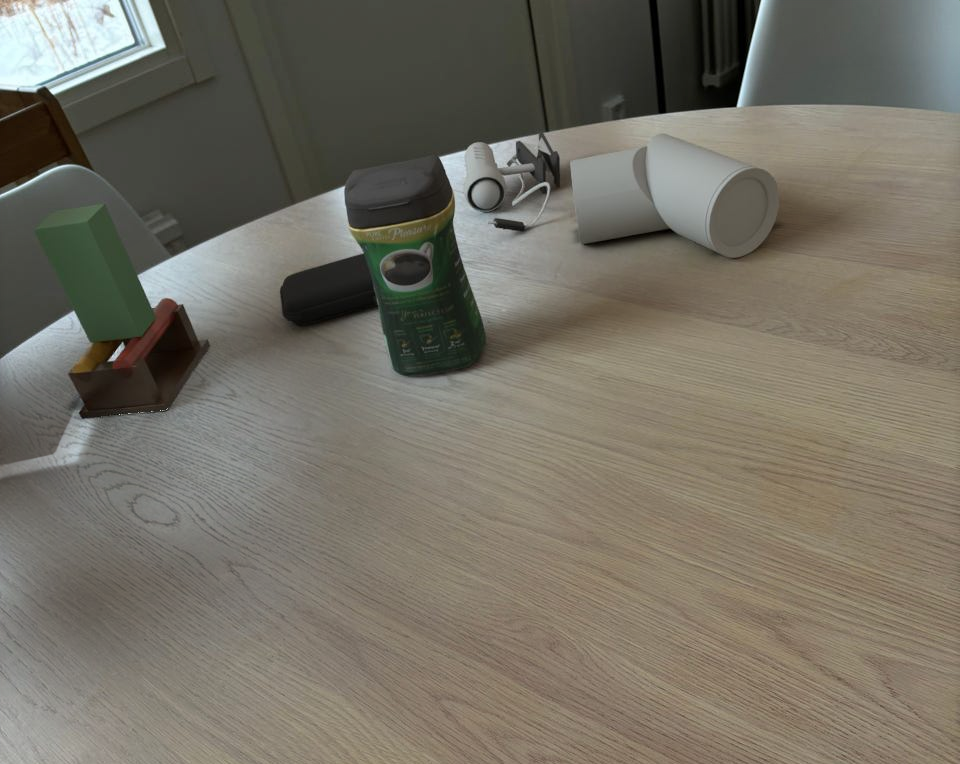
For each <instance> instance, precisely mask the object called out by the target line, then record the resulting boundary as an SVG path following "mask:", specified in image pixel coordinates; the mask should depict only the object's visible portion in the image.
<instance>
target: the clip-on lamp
mask: <svg viewBox="0 0 960 764" xmlns="http://www.w3.org/2000/svg"><path fill="white" fill-rule="evenodd" d="M560 159H561V158H560V154H559V153H558V150H555V151H554V150H553V147H552V146H551V144H550V143H549V141H548V138H547V136H546V135H545V133H544V132H543V131H542V132H538V143H537V144H531V143H527V142H523V141H521V140H516V141H515V154H514V155H513V156H512V157H511V158H510V159H509V160H508V161H507V162H506V165H507V166H503V167H498V164H497V162H496V160H495V155H494V151H493V149H492V148H491V146H490V145H489V144H487V143H485V142H484V141H483V142H481V141H476V142H473V143H472V144H470V145H469V146H468V147H467V149H466V151H465V152H464V164H465V171H466V177H465V179H464V181H463V194H464V198H465V201H466V202H467V203H468V205H469V206H470V207H471V208H472V209H473V210H475V211H477V212H481V213H488V212H492V211H494V210H496V209H498V208H499V207H500V206H501V205H502V204H503V203H504V201H505V198H506V196H507V183H506V179H505V176H513V175H518V177H519V180H520V181H521V185H522V186H521V189H520V191H519V193H518V194H517V196H516V197H515V198H514V199H513V200H512V206H513V207H514V206H516V205H517V204H519V203H521V202H522V201H523V200H524V199H526V198H527V197H528V196H530V195H531V194H532V193H534V192H536V191H538V190H539V191H540V192H541V194H542V195H543V194H546V196H545V200H544V203H543V204H542V206H541V209H540V211H539V212H538V214H537V216H536V217H535V218H534V219H533V220H532V222H531V223H528V224H525V223H524V222H523V221H519V220H513V219H512V220H511V219H506V218H500V217H495V218H493V221H492V220H491V221H487V225H493V226H494V227H495V229H500V230H501V229H502V230H508V231H512V232H515V231H516V232H524V231H525V230H526V229H529V228H530V227H533V226H534V225H535V224H536V223H537V222H538V220H539V219H540V218H541V216H542V214H543V213H544V211H545V209H546V206H547V205H548V203H549V199H550V195H551V188H552V187H551V184H550V183H549V182H547V172H548V173H549V174H551V175H552V177H553V184H554V186H555V187H556V188H561V164H560ZM513 164H515V165H513ZM526 173H529V174H530V175H531V176H532V177H533V178H534V179H535V181H536V182H537V183H538V184H536V185H534V186H533V187H531V188H530V189H528V190H527V191H526V192H524V191H525V181H524V174H526Z"/></svg>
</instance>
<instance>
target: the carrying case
mask: <svg viewBox="0 0 960 764" xmlns="http://www.w3.org/2000/svg"><path fill="white" fill-rule="evenodd" d="M279 296H280V297H279V298H280V305H281V314H282V316H283V318H284V319H285V320H286V321H288V322H289V323H290V322H291V323H292V324H294V325H296V326H306V325H309V324H314V323H317V322H321V321H324V320H328V319H331V318H335V317H338V316H342V315H345V314H349V313H352V312H357V311H360V310H362V309H366V308H370V307H373V306H378V304H377V299H376V294H375V290H374V285H373V281H372V277H371V274H370V270H369V267H368V264H367V261H366V258H365V255H364V253H359V254H355V255H352V256H349V257H345V258H342V259H338V260H334V261H331V262H328V263H325V264H322V265H318V266H313V267H311V268H307V269H304V270H301V271H297V272H295V273H292V274H290V275H288V276H286V277H285V278H284V280H283V282H282V284H281V286H280V288H279Z"/></svg>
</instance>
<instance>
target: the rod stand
mask: <svg viewBox="0 0 960 764" xmlns="http://www.w3.org/2000/svg"><path fill="white" fill-rule="evenodd" d="M152 309H153V312H154V314H155V316H156V318H155V320H154V321H153V322H152V324H151V325H150V326H149V328H148V329H147V330H146V331H145V333H144V334H143V335H142V337H136V338H127V339H118V340H109V341H101V342H92V343H91V344H90V345H89V346H88V348H87V349H86V350H85V351H84V353H82V355H81V356H80V357H79V359H78V360H77V361H76V362H75V364H73V366H72V368H71V369H70V370H69V371H68V372H67V375H68V377H69V379H70V380H71V382H72V385H73V386H74V388H75V390H76V392H77V394H78V396H79V397H80V400H81V401H82V403H83V406H82V407H81V409H80V410H79V411H78V415H79V417H80V418H81V420H83V419H84V420H86V419H85V418H87V419H96V418H95V417H98V418H104V417H103V416H108V417H113V416H112V415H119V414H120V415H119V416H122V415H121V414H128V413H138V412H139V413H140V412H150V413H152V412H151V411H160V410H161V412H163V411H162V410H166V409H167V408H168V407H169V406H170V407H171V405H172V404H173V402H174V401H175V400H176V398H177V396H178V395H179V394H180V392H181V390H182V389H183V388H184V386H185V384H186V383H187V381H188V380H189V379H190V377H191V375H192V374H193V372H194V371H195V370H196V368H197V366H198V365H199V364H200V362H201V361H202V359H203V358H204V356H205V354H206V353H207V352H208V350H209V348H210V347H211V344H210V342H209V339H208V338H207V339H205V338H204V339H199V338H198V336H197V333H196V331H195V329H194V327H193V325H192V322H191V320H190V317H189V315H188V312H187V310H186V308H185V305H184V304H183V303H181V304H180V303H179V304H178V303H177V302H176V300H175V299H172V298H169V297H163V298H162V299H161V300H160V301H159V302H158V304H157V305H156V306H155V307H152ZM122 344H123V345H124V348H123V349H122V351H120V353H119V354H118V355H117V356H116V358H115V360H110V359H111V358H112V356H113V355H114V354H115V353H116V351H117V350H118V349H119V348H120V346H122ZM109 360H110V361H109ZM171 403H172V404H171ZM170 404H171V405H170ZM170 407H169V408H170ZM169 408H168V409H169ZM140 414H141V413H140ZM110 415H111V416H110ZM101 416H102V417H101Z"/></svg>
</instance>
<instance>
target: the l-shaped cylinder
mask: <svg viewBox="0 0 960 764" xmlns="http://www.w3.org/2000/svg"><path fill="white" fill-rule="evenodd" d="M569 163H570V164H569V165H570V174H571V175H570V176H571V185H572V194H573V201H574V202H573V203H574V209H575V217H576V225H577V230H578V236H579V241H580V242H579V243H580V245H585V244H591V243H596V242H603V241H607V240H612V239H613V240H614V239H619V238H620V239H621V238H625V237H630V236H635V235H642V234H646V233H653V232H657V231H658V232H659V231H664V230H670V229H671V231H673V232H674V233H675V234H677V235H679V236H681V237H683V238H686V239H688V240H689V241H692V242H694V243H697V244H698V245H700V246H703V247H705V248H707V249H709V250H711V251H713V252H716V253H717V254H720V255H722V256H724V257H727V258H731V259H734V258H735V259H736V258H741V257H744V256H746V255H749V254H750V253H752V252H753V251H755V250H756V249H757V248H758V247H759V246H761V244H762V243H764V241H765V240H766V238H767V237H768V236H769V234H770V232H771V231H772V229H773V227H774V225H775V223H776V220H777V216H778V212H779V208H780V190H779V187H778V183H777V181H776V179H775V178H774V176H773V175H772V174H771V173H770V172H768V171H767V170H765V169H763V168H761V167H758V166H755V165H752V164H750V163H747V162H744V161H741V160H739V159H736V158H733V157H731V156H727V155H725V154H722V153H720V152H717V151H714V150H711V149H710V148H709V149H708V148H706V147H703V146H701V145H697V144H695V143H693V142H689V141H687V140H683V139H681V138H678V137H675V136H673V135H670V134H667V133H657V134H655V135H654V136H652V137H651V139H650V140H649V141H648V144H647V145H645V146H640V147H635V148H629V149H624V150H619V151H614V152H609V153H603V154H597V155H593V156H589V157H582V158H578V159H573V160H570V162H569Z"/></svg>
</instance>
